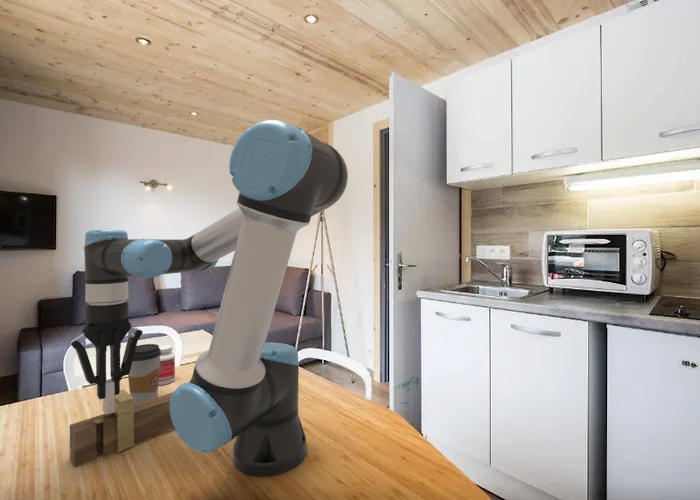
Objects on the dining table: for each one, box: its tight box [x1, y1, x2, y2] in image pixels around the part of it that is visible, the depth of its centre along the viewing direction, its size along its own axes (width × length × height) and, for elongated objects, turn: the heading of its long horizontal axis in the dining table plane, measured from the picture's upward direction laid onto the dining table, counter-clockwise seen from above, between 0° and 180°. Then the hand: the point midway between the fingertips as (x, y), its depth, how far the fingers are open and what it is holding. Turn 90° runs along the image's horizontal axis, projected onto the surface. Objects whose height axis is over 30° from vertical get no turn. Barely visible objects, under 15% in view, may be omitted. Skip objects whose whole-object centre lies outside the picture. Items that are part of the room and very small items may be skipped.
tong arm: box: [100, 397, 175, 457], centre depth 79 cm, size 2×16×7 cm, turn 139°
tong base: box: [69, 391, 174, 468], centre depth 78 cm, size 4×21×7 cm, turn 139°
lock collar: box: [114, 388, 135, 453], centre depth 76 cm, size 7×3×10 cm, turn 49°
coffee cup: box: [127, 343, 161, 404], centre depth 96 cm, size 8×8×15 cm
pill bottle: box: [158, 344, 176, 386], centre depth 110 cm, size 6×6×11 cm
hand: (108, 411), depth 74 cm, fingers closed
